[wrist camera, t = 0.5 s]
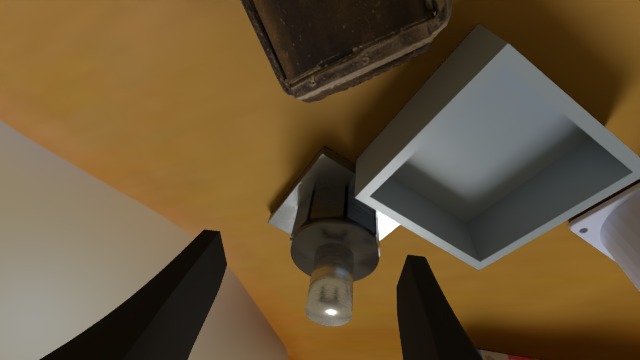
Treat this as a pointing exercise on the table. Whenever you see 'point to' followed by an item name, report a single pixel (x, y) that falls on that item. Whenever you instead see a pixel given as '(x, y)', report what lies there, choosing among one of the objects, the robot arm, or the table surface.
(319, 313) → the dark grey stepped cylinder
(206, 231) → the robot arm
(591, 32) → the table surface
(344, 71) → the dark brown handled cylinder
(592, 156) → the bin
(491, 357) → the stack of blocks
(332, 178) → the stud mount
